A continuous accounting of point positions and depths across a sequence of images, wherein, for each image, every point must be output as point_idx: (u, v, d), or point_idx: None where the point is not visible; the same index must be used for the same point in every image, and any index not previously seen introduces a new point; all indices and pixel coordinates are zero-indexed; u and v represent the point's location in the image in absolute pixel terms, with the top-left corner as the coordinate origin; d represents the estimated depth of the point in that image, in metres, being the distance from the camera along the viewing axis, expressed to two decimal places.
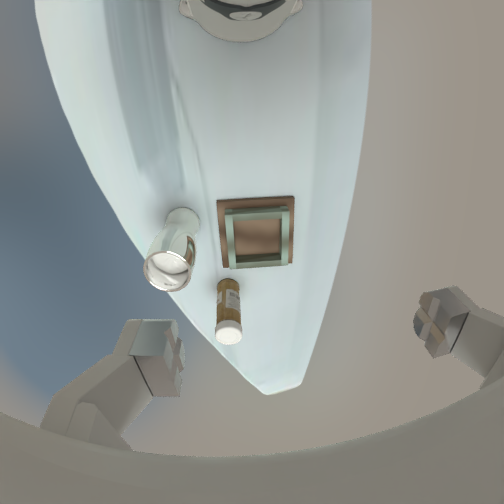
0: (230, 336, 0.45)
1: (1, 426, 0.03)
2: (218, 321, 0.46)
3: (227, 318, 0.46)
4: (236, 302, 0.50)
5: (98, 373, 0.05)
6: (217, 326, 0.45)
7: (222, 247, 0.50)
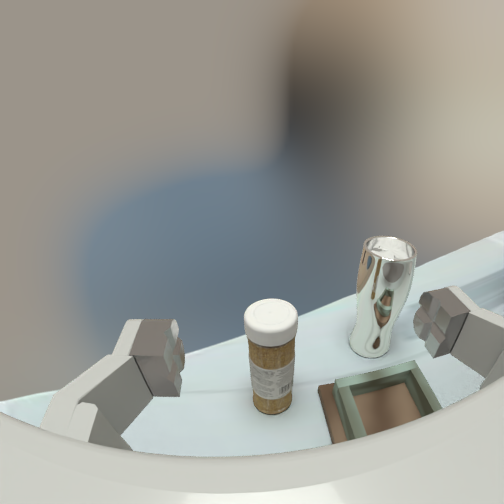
0: (272, 314, 0.23)
1: (1, 426, 0.03)
2: None
3: None
4: (289, 375, 0.25)
5: (98, 373, 0.05)
6: None
7: None
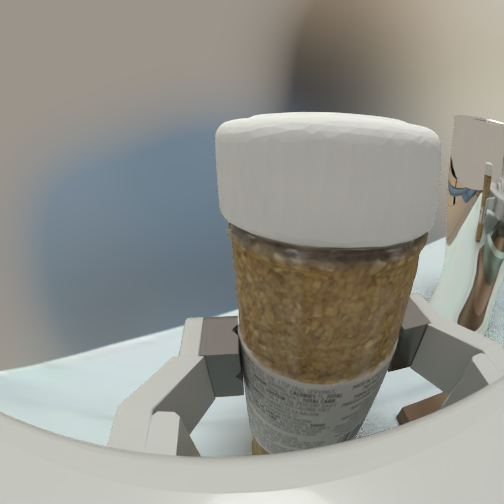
0: None
1: (1, 426, 0.03)
2: None
3: None
4: (375, 396, 0.07)
5: (168, 377, 0.05)
6: None
7: None
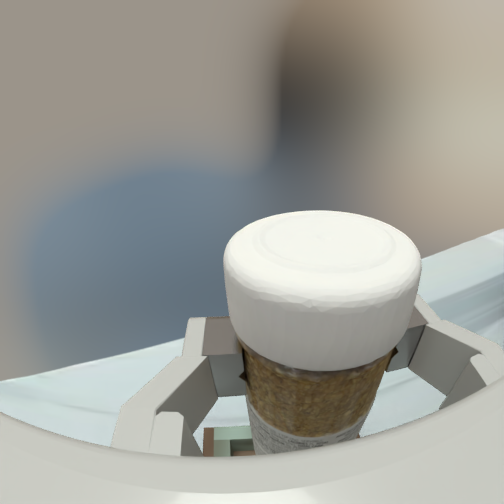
0: (333, 242, 0.06)
1: (1, 426, 0.03)
2: None
3: None
4: (357, 434, 0.08)
5: (172, 378, 0.05)
6: None
7: None
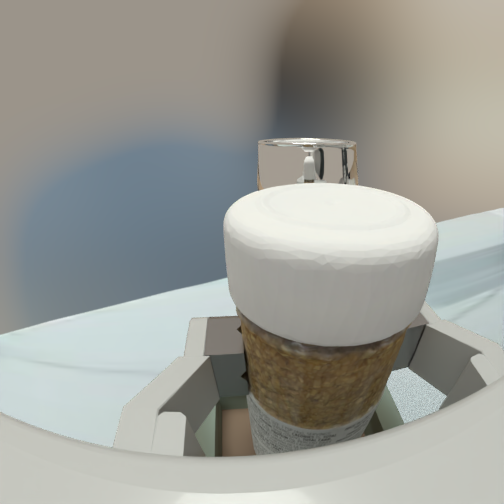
0: (343, 205, 0.05)
1: (1, 426, 0.03)
2: None
3: None
4: (365, 427, 0.07)
5: (174, 377, 0.05)
6: None
7: None
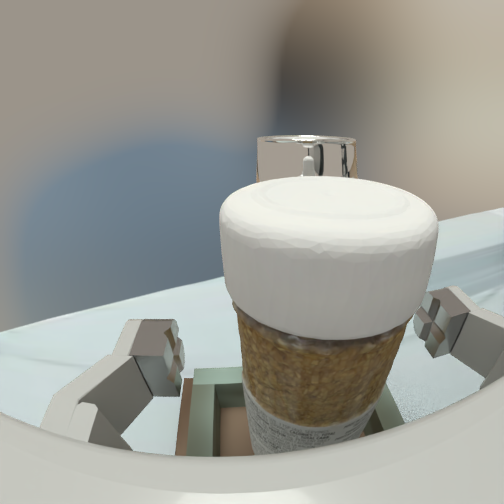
0: (341, 196, 0.05)
1: (1, 426, 0.03)
2: None
3: None
4: (365, 425, 0.07)
5: (98, 373, 0.05)
6: None
7: None
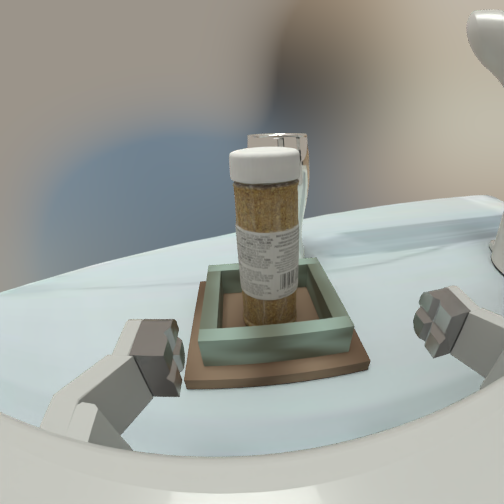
0: (266, 149, 0.17)
1: (1, 426, 0.03)
2: None
3: (297, 180, 0.18)
4: (293, 254, 0.19)
5: (98, 373, 0.05)
6: None
7: None
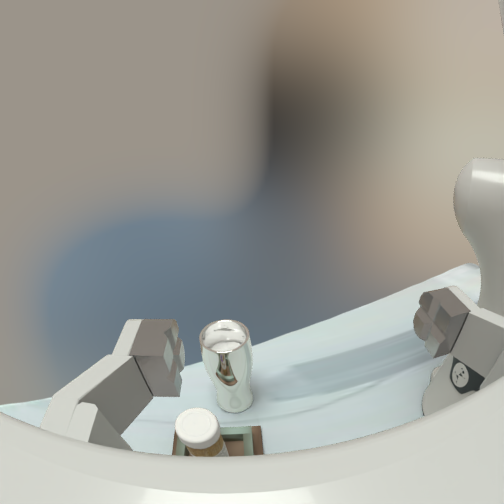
0: (196, 426, 0.23)
1: (1, 426, 0.03)
2: None
3: None
4: None
5: (98, 373, 0.05)
6: None
7: None
